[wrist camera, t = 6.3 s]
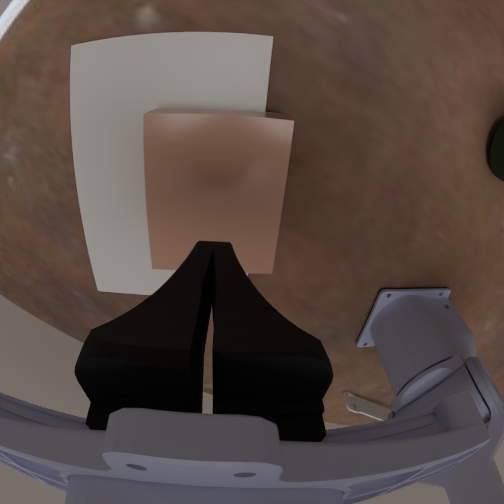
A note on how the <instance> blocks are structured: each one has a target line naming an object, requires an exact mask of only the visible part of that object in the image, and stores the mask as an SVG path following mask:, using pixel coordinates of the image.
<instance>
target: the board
mask: <svg viewBox="0 0 504 504" xmlns="http://www.w3.org/2000/svg"><path fill="white" fill-rule="evenodd" d="M272 44H273V36H265V35H255V34H243V33H225V32H171V33H154V34H142V35H132V36H123V37H116V38H109V39H103V40H97V41H91V42H86V43H81V44H76V45H71V64H70V114H71V134H72V147H73V158H74V168H75V176H76V184H77V192H78V198H79V205H80V211H81V217H82V222H83V228H84V233H85V238H86V243H87V247H88V252H89V257H90V261H91V265H92V269H93V273H94V277H95V281H96V285H97V289H98V291H105V292H117V293H130V294H144V295H152V294H153V293H154V292H155V291H157V290H158V289H159V288H160V287H161V286H162V285H163V284H164V283H165V282H166V281H167V280H168V279H169V278H170V277H171V276H172V275H173V273H174V272H175V271H176V270H163V269H152V263H151V254H150V245H149V234H148V223H147V209H146V194H145V174H144V137H143V114H145V113H147V112H149V111H151V110H154V109H156V108H215V109H235V110H250V111H262V112H265V109H266V100H267V90H268V81H269V72H270V62H271V53H272ZM246 275H247V276H248V273H246Z"/></svg>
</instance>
